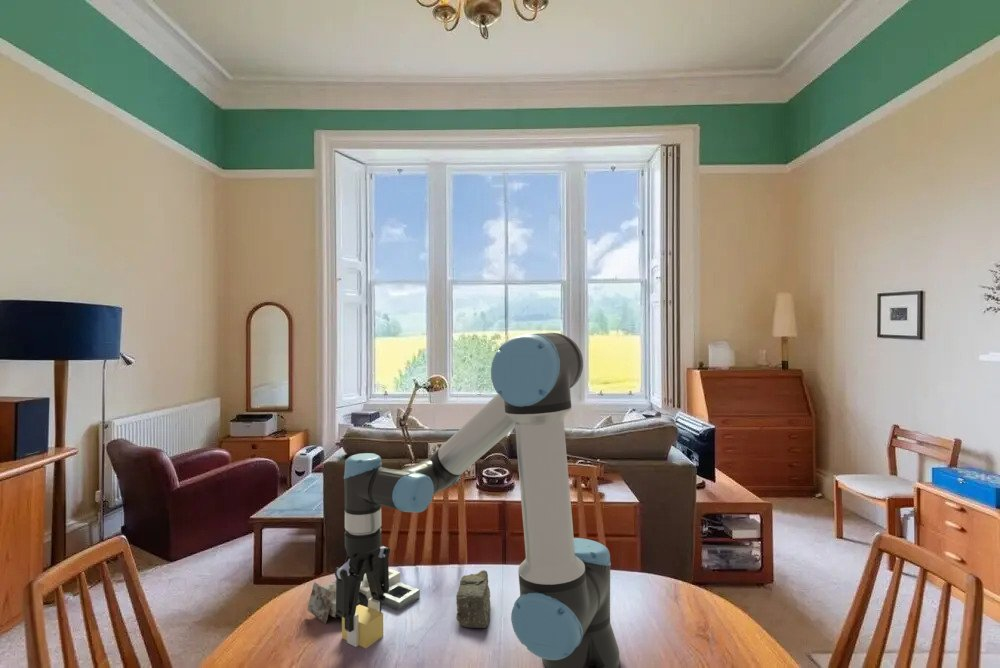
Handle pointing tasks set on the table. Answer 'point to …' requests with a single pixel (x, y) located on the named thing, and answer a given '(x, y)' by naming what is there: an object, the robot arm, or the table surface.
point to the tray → (393, 579)
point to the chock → (367, 626)
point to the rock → (473, 600)
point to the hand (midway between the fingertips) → (363, 636)
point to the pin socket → (400, 603)
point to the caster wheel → (327, 601)
